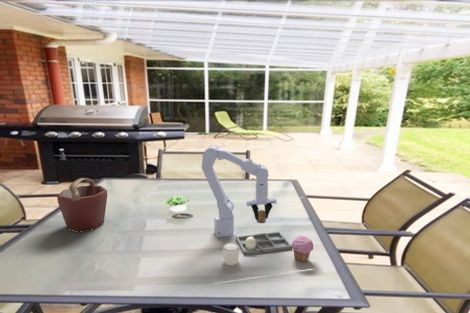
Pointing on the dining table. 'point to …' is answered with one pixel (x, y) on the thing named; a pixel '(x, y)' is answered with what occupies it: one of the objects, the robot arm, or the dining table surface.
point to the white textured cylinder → (231, 253)
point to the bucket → (83, 205)
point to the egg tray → (264, 243)
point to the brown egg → (261, 216)
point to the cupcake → (302, 248)
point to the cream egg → (250, 243)
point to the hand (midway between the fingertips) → (261, 218)
